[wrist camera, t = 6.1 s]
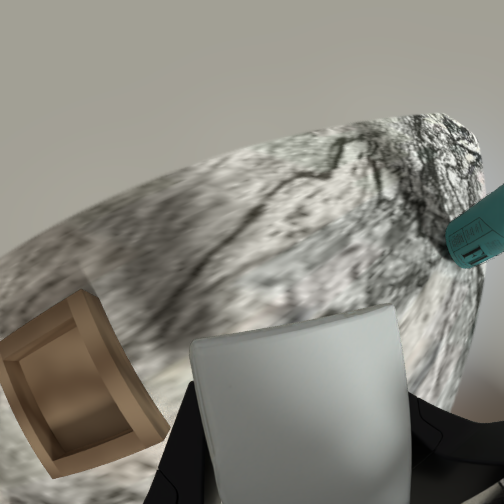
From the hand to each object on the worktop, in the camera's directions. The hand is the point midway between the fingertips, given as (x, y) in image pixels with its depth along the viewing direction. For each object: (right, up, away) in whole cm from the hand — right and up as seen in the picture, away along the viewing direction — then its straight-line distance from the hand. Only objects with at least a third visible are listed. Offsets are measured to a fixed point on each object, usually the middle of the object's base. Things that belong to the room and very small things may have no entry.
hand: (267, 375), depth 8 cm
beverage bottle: (+24, +4, +19) cm, 31 cm away
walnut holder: (-15, -8, +9) cm, 19 cm away
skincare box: (-1, -4, +7) cm, 8 cm away
